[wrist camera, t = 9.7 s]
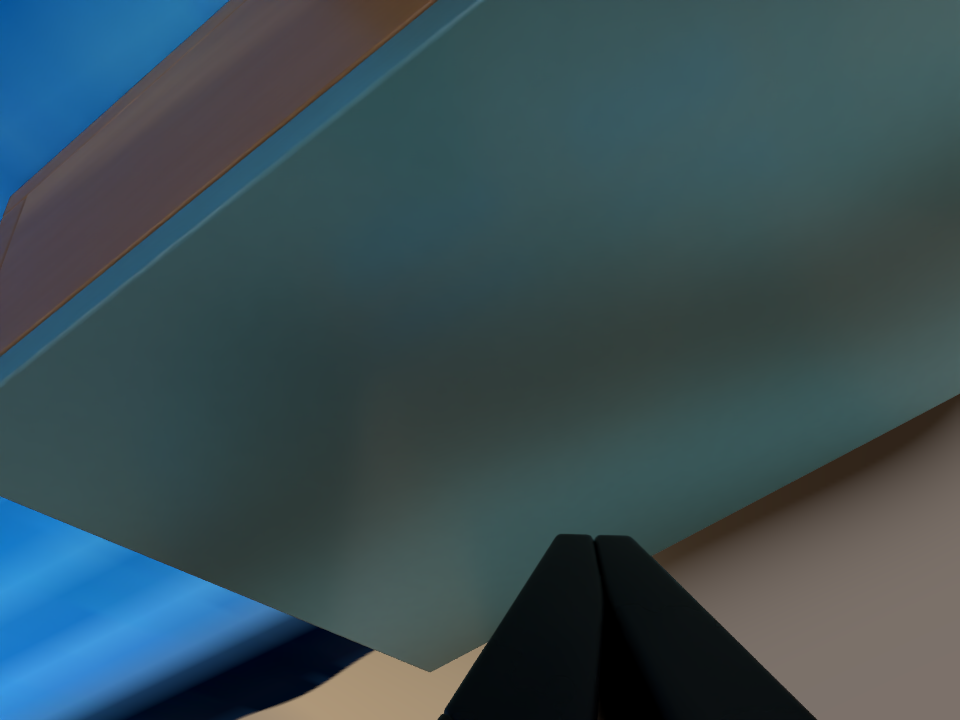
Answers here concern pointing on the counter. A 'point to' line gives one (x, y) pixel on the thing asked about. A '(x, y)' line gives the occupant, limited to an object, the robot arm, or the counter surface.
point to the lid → (515, 307)
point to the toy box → (176, 140)
